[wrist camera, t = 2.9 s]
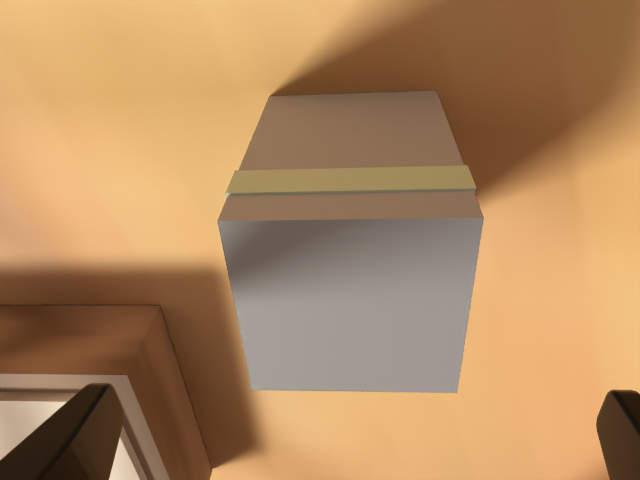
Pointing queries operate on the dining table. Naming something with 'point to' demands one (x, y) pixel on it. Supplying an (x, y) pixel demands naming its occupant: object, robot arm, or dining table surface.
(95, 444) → the robot arm
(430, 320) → the grey striped cube
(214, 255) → the dining table surface
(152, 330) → the stand
